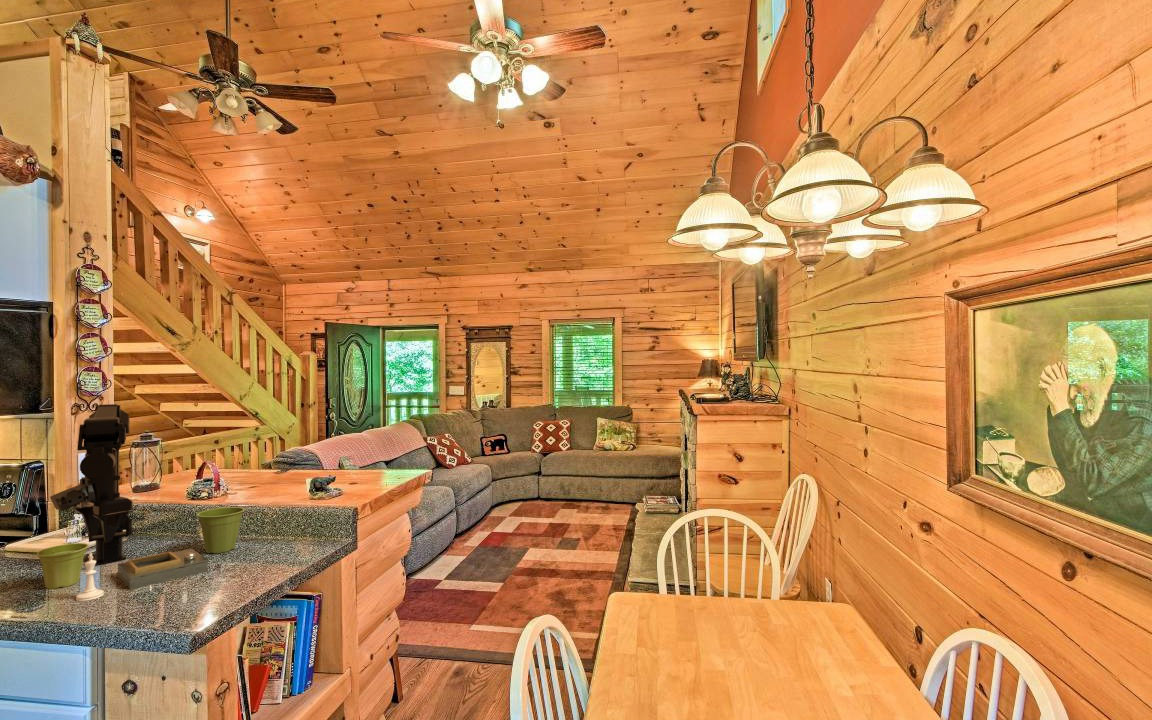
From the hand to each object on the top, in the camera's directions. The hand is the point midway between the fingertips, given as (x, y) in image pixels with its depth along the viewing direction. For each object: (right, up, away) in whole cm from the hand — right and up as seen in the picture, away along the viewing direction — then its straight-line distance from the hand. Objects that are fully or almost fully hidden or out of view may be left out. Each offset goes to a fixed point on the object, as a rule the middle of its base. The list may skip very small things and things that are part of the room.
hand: (99, 539), depth 129 cm
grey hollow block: (+5, -13, +13) cm, 19 cm away
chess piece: (-1, -13, -1) cm, 13 cm away
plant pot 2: (+8, -14, +32) cm, 36 cm away
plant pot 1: (-14, -13, +6) cm, 20 cm away
